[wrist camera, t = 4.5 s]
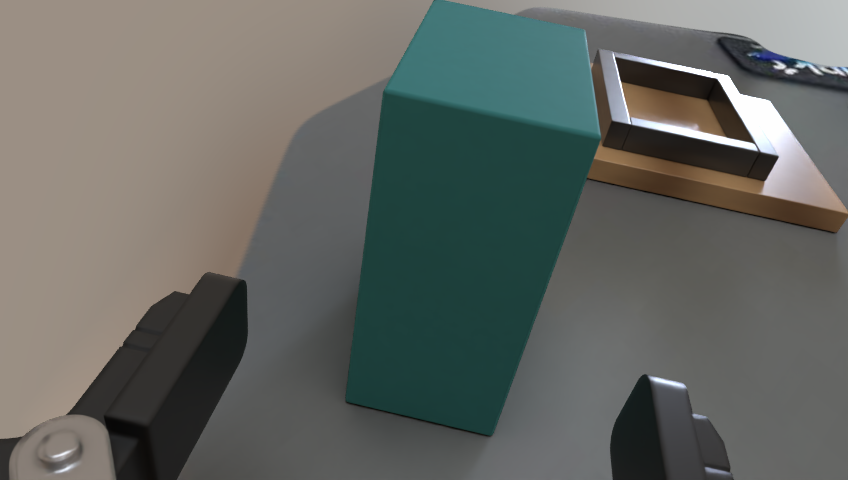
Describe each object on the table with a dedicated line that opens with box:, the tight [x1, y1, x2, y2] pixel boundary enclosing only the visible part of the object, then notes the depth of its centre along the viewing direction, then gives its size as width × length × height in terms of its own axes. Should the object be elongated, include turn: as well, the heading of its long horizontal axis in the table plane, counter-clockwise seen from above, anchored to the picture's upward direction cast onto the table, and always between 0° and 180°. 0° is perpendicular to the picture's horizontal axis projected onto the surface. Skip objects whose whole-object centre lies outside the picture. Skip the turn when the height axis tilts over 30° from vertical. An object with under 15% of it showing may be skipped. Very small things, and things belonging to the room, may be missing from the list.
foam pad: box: [346, 0, 601, 436], centre depth 18 cm, size 4×7×10 cm, turn 170°
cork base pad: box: [587, 49, 848, 233], centre depth 36 cm, size 16×14×3 cm
